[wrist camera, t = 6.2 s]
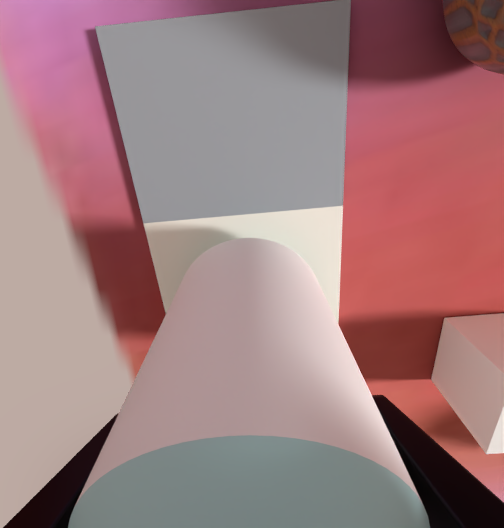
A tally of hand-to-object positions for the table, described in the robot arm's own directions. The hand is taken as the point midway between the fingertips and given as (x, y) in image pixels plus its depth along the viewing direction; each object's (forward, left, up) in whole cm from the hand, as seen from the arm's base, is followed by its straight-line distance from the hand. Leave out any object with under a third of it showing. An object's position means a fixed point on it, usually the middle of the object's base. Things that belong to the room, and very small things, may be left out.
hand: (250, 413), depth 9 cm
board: (-4, 0, -8) cm, 9 cm away
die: (-6, -14, -8) cm, 17 cm away
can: (0, 0, -7) cm, 7 cm away
